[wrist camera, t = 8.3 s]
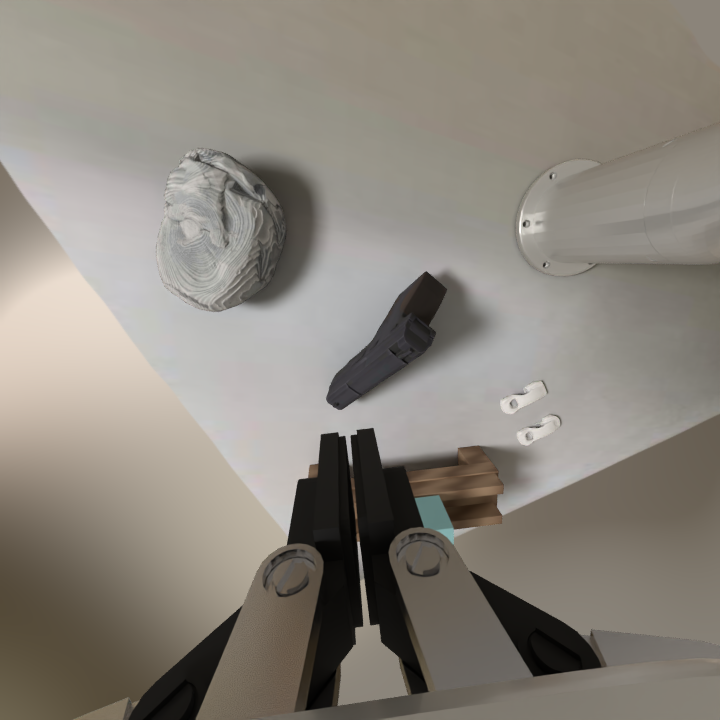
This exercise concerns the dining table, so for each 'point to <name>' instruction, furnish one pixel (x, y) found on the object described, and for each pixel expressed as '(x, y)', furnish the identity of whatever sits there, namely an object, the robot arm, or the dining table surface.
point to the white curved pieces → (534, 394)
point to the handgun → (391, 342)
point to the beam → (456, 489)
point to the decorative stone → (218, 232)
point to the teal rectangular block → (435, 516)
